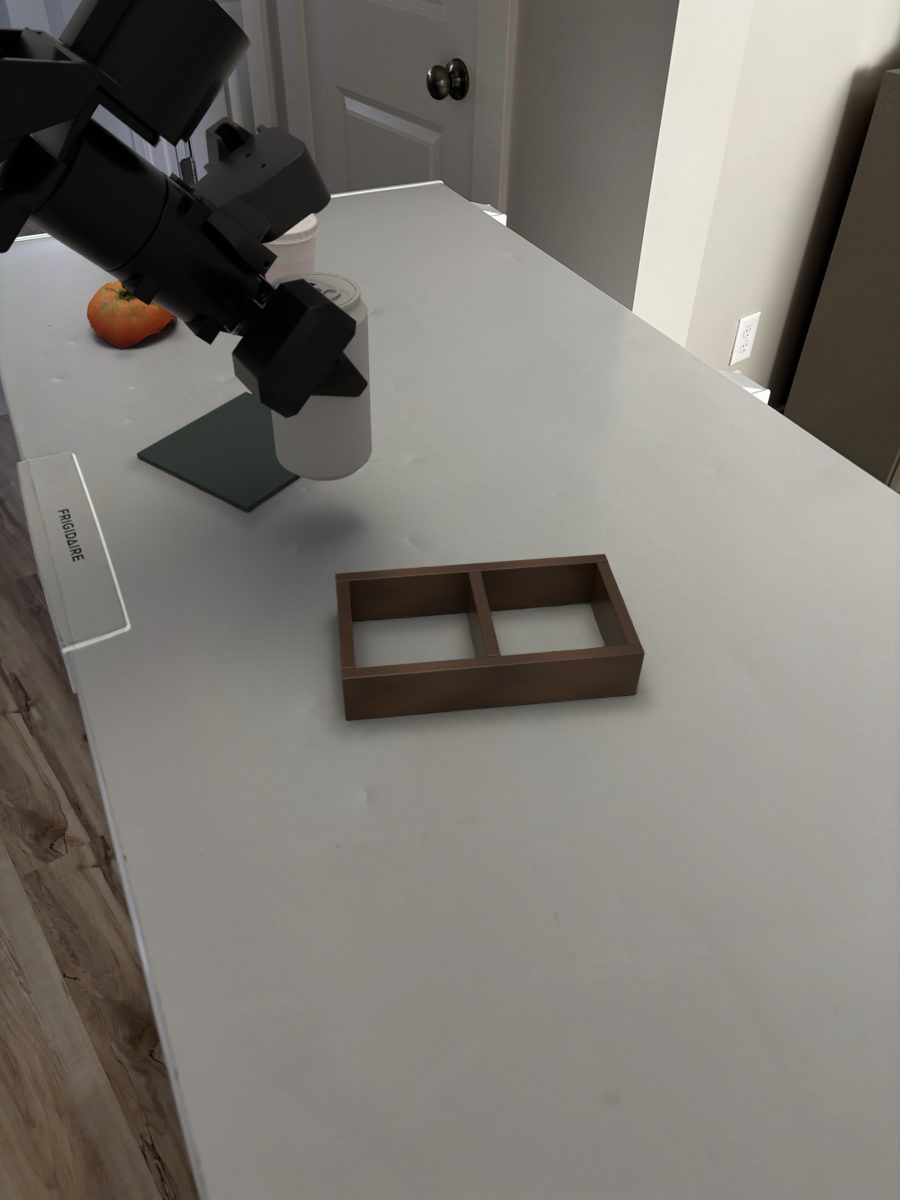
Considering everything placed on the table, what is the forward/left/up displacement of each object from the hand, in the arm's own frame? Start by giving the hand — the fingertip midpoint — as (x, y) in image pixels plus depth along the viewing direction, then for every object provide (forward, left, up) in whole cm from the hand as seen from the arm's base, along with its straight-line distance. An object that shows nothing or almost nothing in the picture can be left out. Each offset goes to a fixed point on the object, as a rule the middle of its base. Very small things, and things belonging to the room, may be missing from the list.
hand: (337, 367), depth 59 cm
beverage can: (0, -1, -7) cm, 7 cm away
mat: (-13, +1, -12) cm, 18 cm away
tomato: (-37, +6, -12) cm, 39 cm away
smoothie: (-28, +18, -12) cm, 35 cm away
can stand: (+16, -3, -12) cm, 20 cm away
